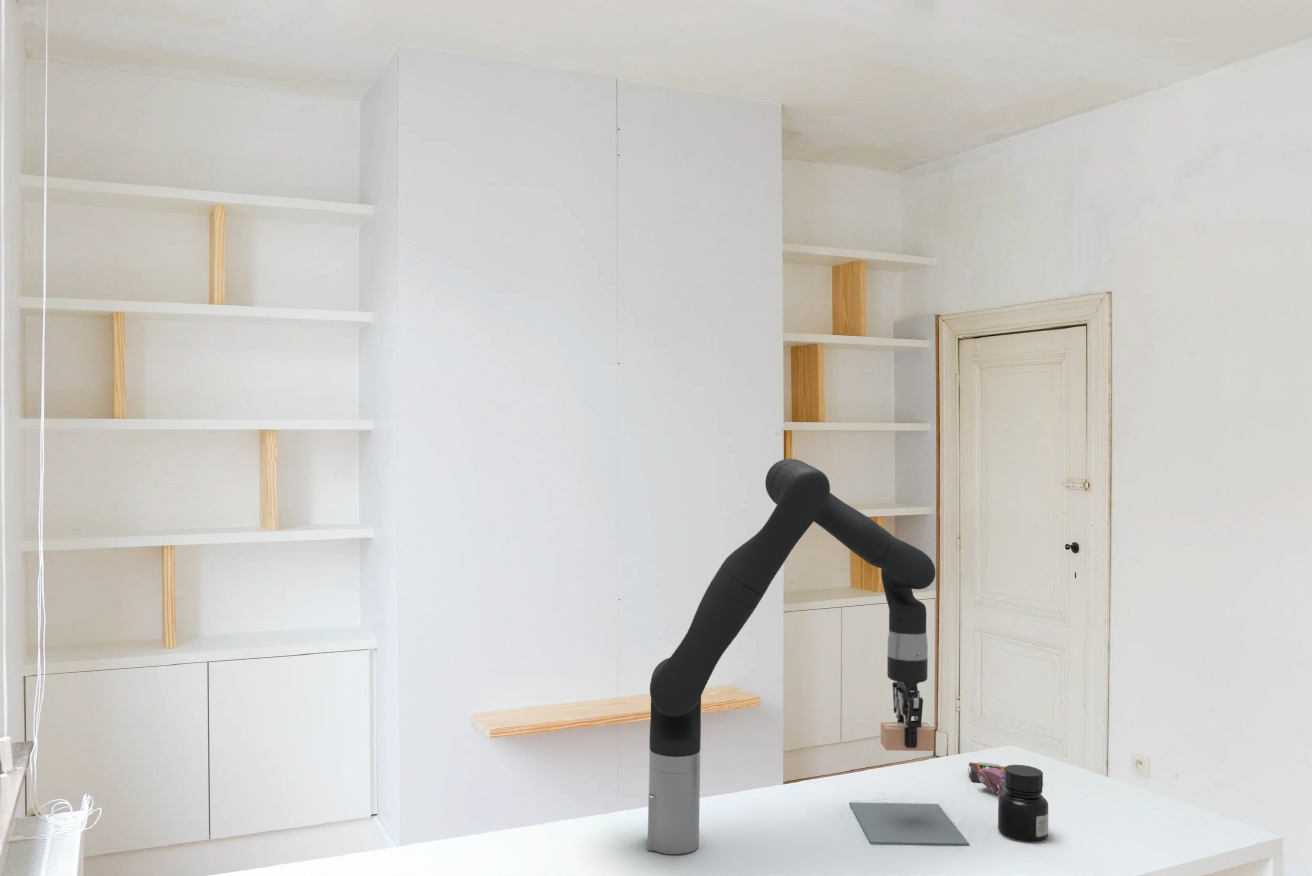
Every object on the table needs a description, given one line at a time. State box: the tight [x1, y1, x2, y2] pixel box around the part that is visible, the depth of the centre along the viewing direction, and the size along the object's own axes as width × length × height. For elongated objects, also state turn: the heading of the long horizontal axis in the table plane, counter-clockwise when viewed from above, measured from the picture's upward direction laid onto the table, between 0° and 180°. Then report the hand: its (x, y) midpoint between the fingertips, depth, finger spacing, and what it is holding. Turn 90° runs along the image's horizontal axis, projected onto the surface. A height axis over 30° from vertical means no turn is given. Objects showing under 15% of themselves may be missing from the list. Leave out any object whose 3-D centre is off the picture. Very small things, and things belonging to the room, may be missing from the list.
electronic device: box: [967, 761, 1006, 783], centre depth 214 cm, size 7×3×15 cm
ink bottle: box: [997, 764, 1049, 843], centre depth 183 cm, size 10×9×12 cm
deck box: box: [880, 721, 935, 752], centre depth 187 cm, size 5×9×4 cm, turn 89°
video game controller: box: [977, 766, 1005, 795], centre depth 204 cm, size 10×5×7 cm, turn 26°
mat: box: [848, 801, 970, 847], centre depth 187 cm, size 18×20×1 cm
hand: (906, 742), depth 188 cm, fingers closed on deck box, 5 cm apart
